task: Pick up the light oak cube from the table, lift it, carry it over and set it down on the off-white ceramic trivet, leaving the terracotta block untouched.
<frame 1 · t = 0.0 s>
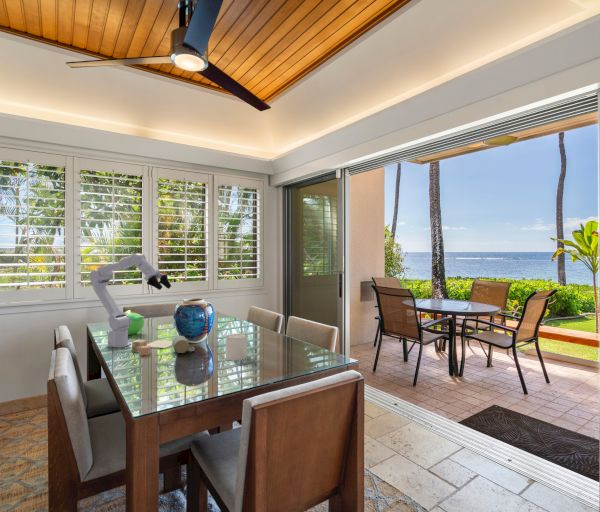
hand: (165, 287, 190), 32 cm above the table, tool tilted 50°, fingers open, 7 cm apart
trivet: (161, 344, 200), on the table
oak cube: (139, 350, 188), on the table
terracotta block: (145, 354, 180), on the table
green rounded piece: (128, 335, 222), on the table
ceramic mug: (183, 352, 186), on the table
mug: (236, 357, 178), on the table
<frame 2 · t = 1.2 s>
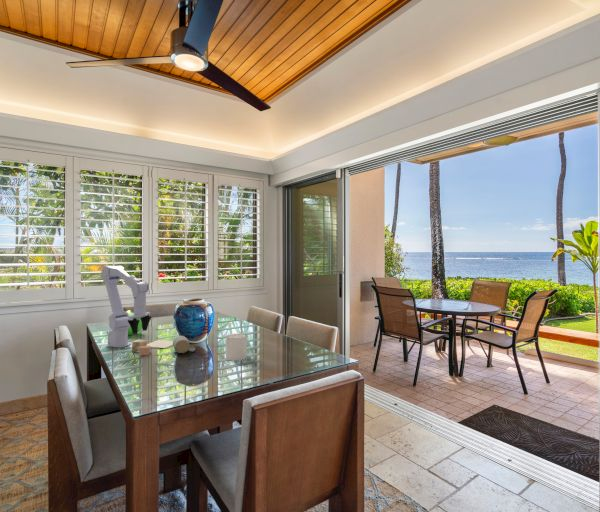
hand: (139, 331, 188), 10 cm above the table, tool pointing down, fingers open, 7 cm apart
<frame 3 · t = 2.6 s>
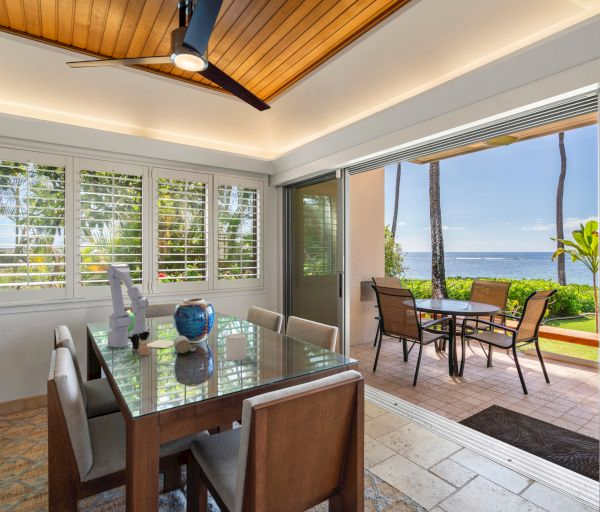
hand: (139, 347, 188), 1 cm above the table, tool pointing down, fingers closed on oak cube, 5 cm apart
oak cube: (139, 350, 188), on the table, touching gripper
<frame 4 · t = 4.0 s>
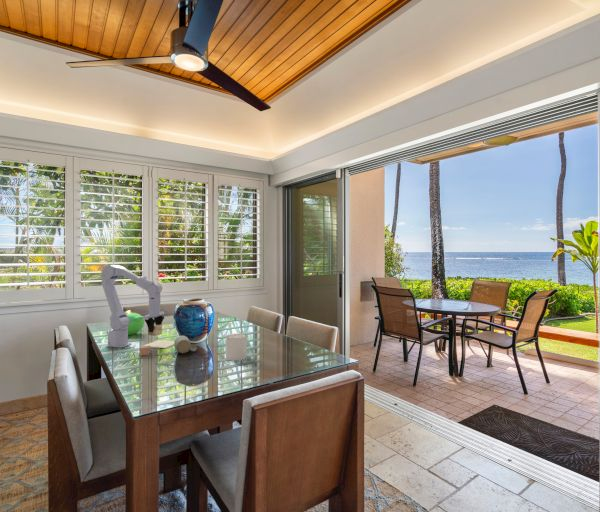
hand: (154, 330, 195), 8 cm above the table, tool pointing down, fingers closed on oak cube, 5 cm apart
oak cube: (154, 334, 195), point 7 cm above the table, touching gripper
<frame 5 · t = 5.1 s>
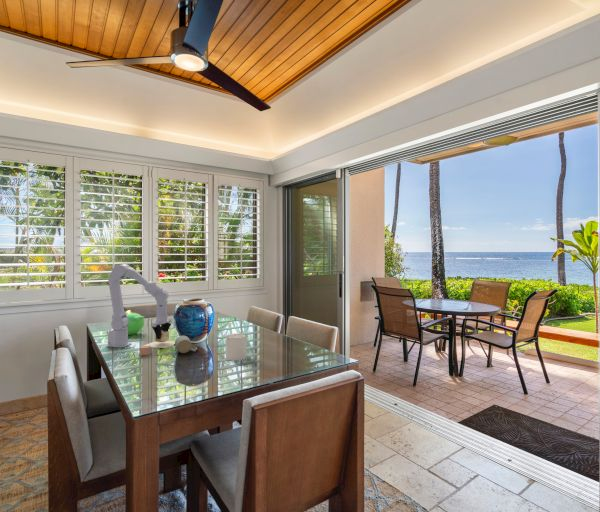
hand: (161, 337, 200), 4 cm above the table, tool pointing down, fingers closed on oak cube, 5 cm apart
oak cube: (162, 341, 199), point 2 cm above the table, touching gripper
when the fingers open (4 cm above the table, at t = 5.7 s): oak cube drops 1 cm, resting on trivet.
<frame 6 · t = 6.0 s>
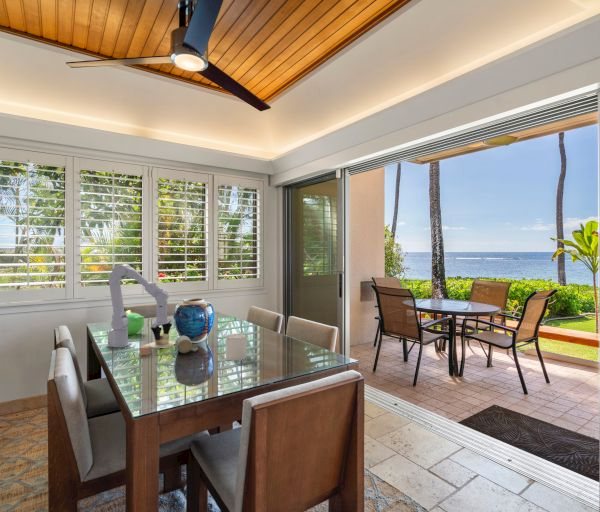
hand: (161, 338, 200), 4 cm above the table, tool pointing down, fingers open, 7 cm apart
oak cube: (162, 343, 199), point 1 cm above the table, touching trivet
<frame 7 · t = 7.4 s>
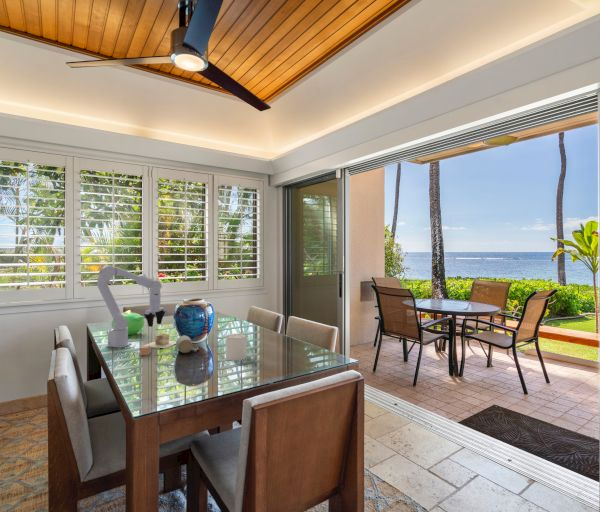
hand: (154, 325, 206), 9 cm above the table, tool pointing down, fingers open, 7 cm apart
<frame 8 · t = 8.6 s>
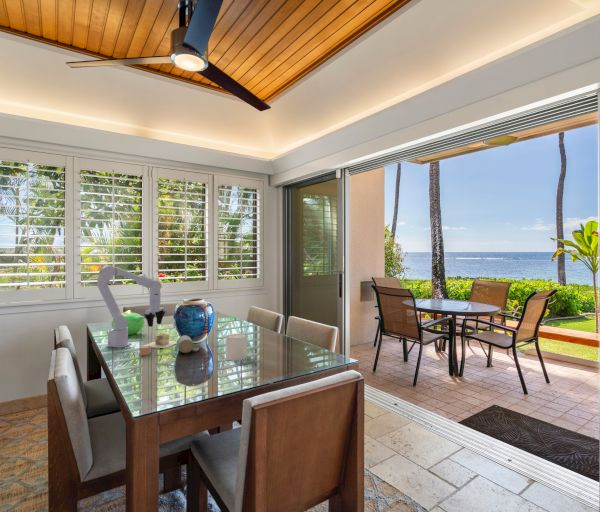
hand: (154, 325, 206), 9 cm above the table, tool pointing down, fingers open, 7 cm apart
at the end: oak cube inside the target area on the trivet (0.3 cm from its centre), point 0.6 cm above the trivet's base; oak cube tilted 0°; the gripper is holding nothing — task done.
